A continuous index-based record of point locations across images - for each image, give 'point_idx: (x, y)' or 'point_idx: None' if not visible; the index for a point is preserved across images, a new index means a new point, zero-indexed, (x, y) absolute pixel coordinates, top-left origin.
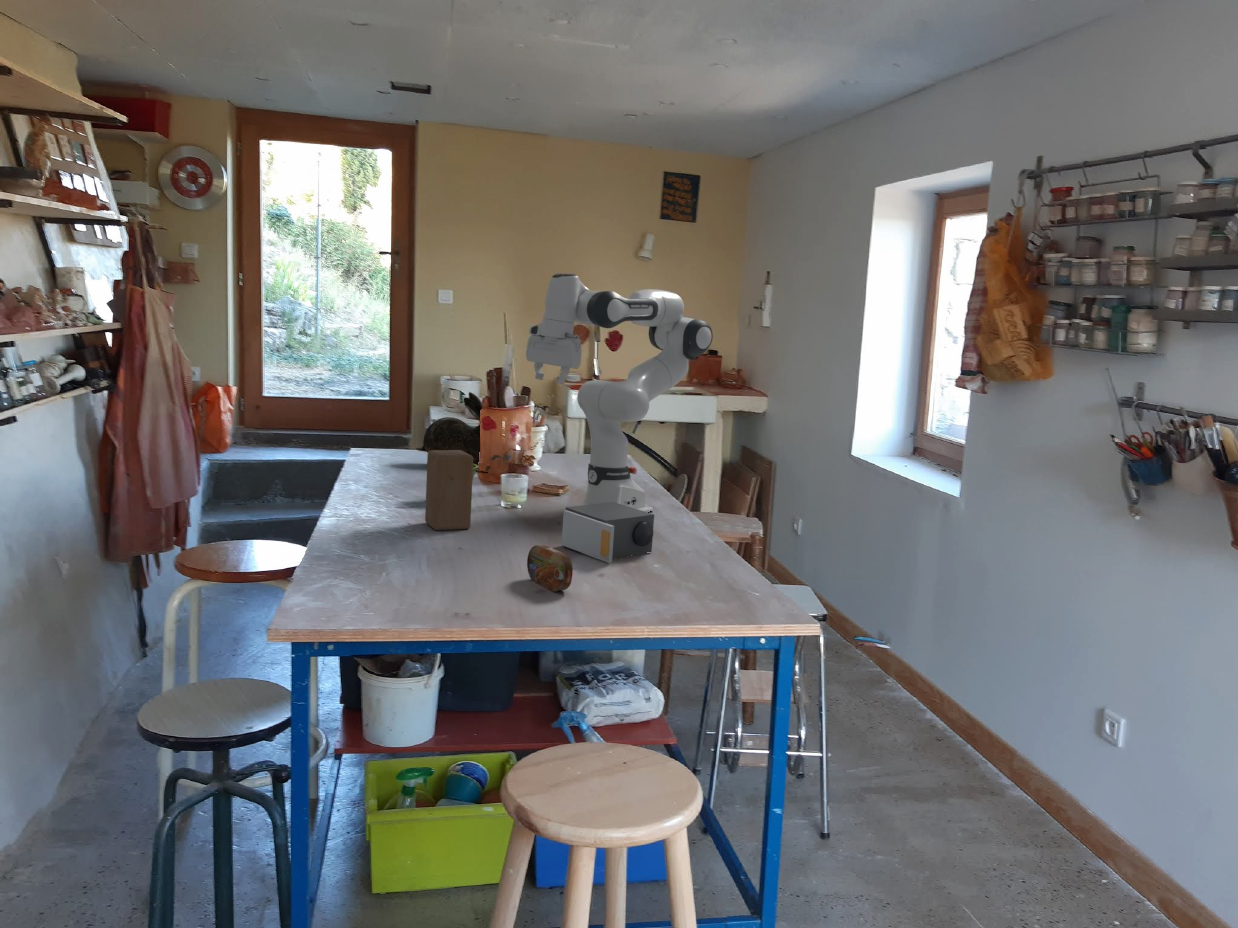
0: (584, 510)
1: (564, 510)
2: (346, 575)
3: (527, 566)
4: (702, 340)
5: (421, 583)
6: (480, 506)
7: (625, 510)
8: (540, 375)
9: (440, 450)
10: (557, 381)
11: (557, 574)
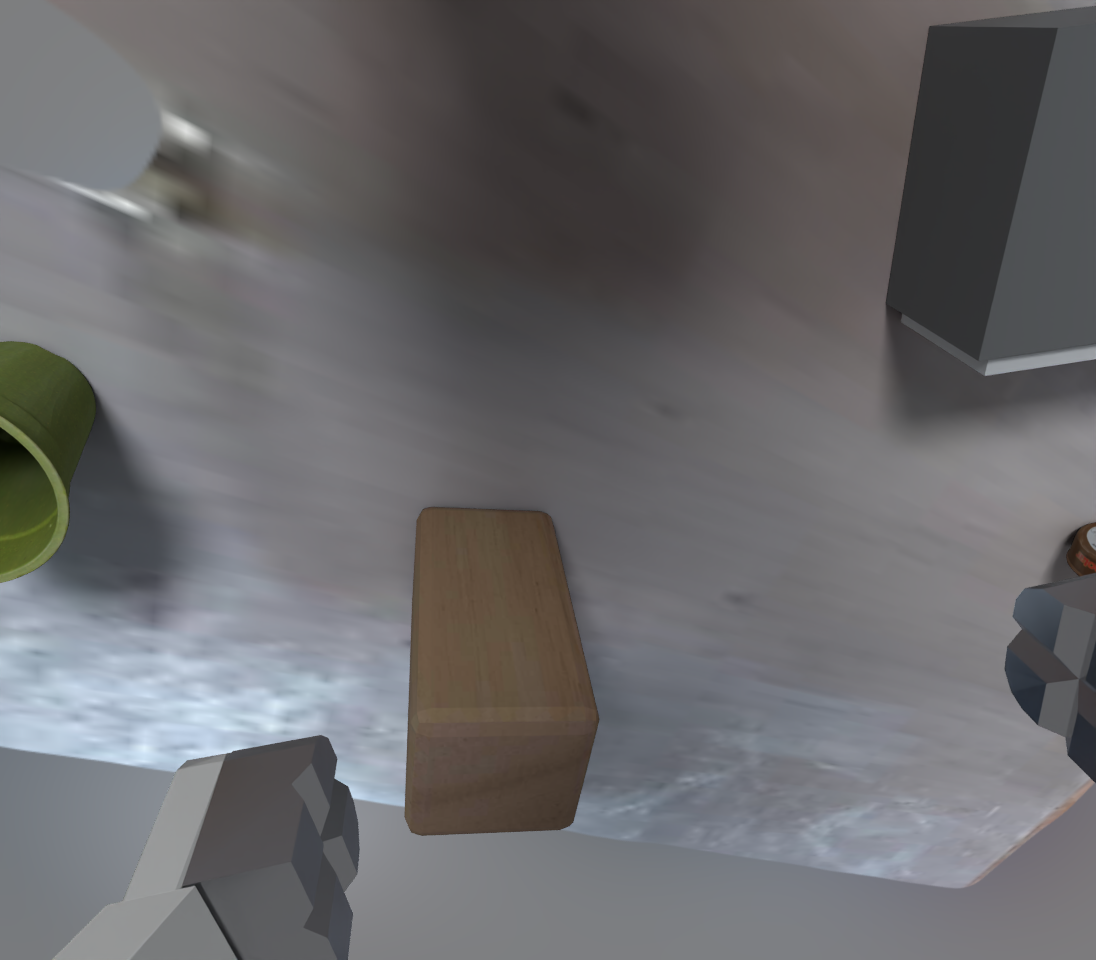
0: (1073, 311)
1: (987, 373)
2: (796, 813)
3: (1070, 565)
4: None
5: (923, 728)
6: (149, 326)
7: None
8: (332, 887)
9: (431, 806)
10: (1063, 709)
11: None
